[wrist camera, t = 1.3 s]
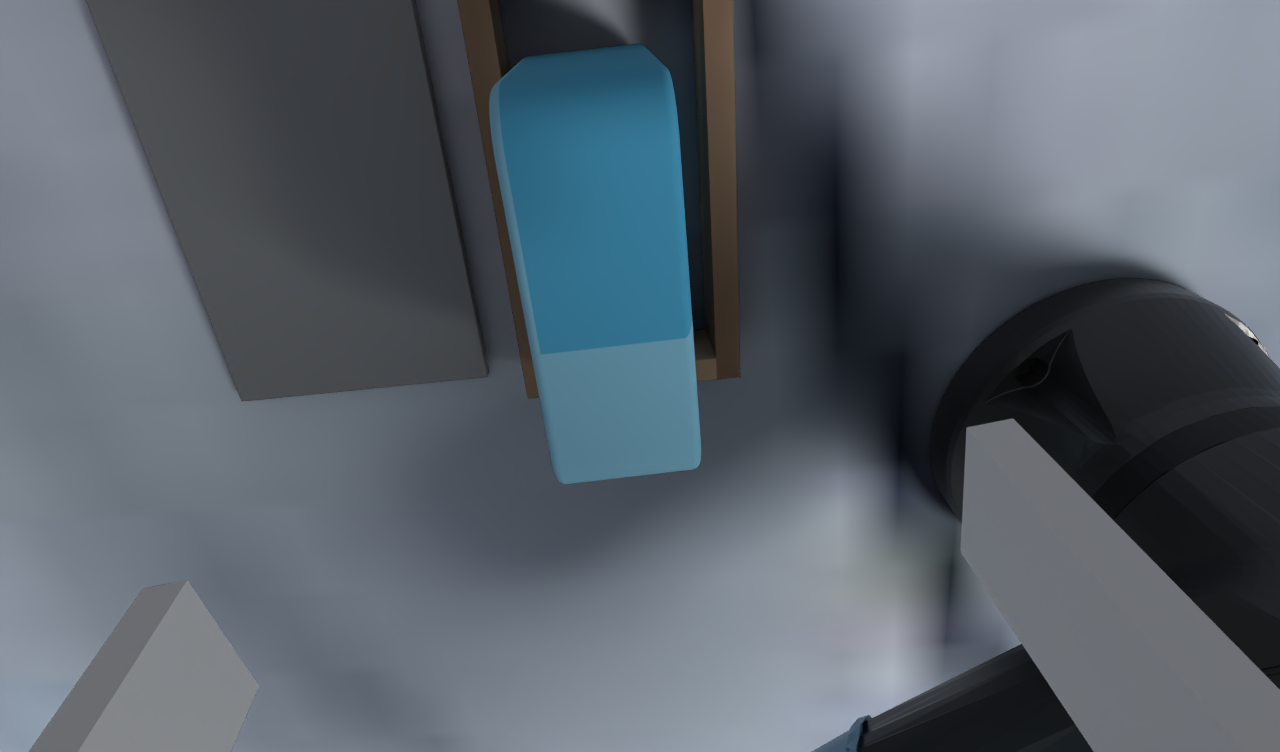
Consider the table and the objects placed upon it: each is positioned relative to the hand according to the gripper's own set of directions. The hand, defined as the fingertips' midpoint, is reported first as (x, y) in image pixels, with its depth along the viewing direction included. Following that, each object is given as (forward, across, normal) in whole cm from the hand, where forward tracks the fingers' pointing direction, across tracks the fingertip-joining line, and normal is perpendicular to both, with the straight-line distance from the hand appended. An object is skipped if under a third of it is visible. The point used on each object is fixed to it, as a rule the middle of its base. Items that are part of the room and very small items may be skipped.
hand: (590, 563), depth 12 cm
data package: (+21, -1, 0) cm, 21 cm away
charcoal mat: (+21, +10, -2) cm, 23 cm away
